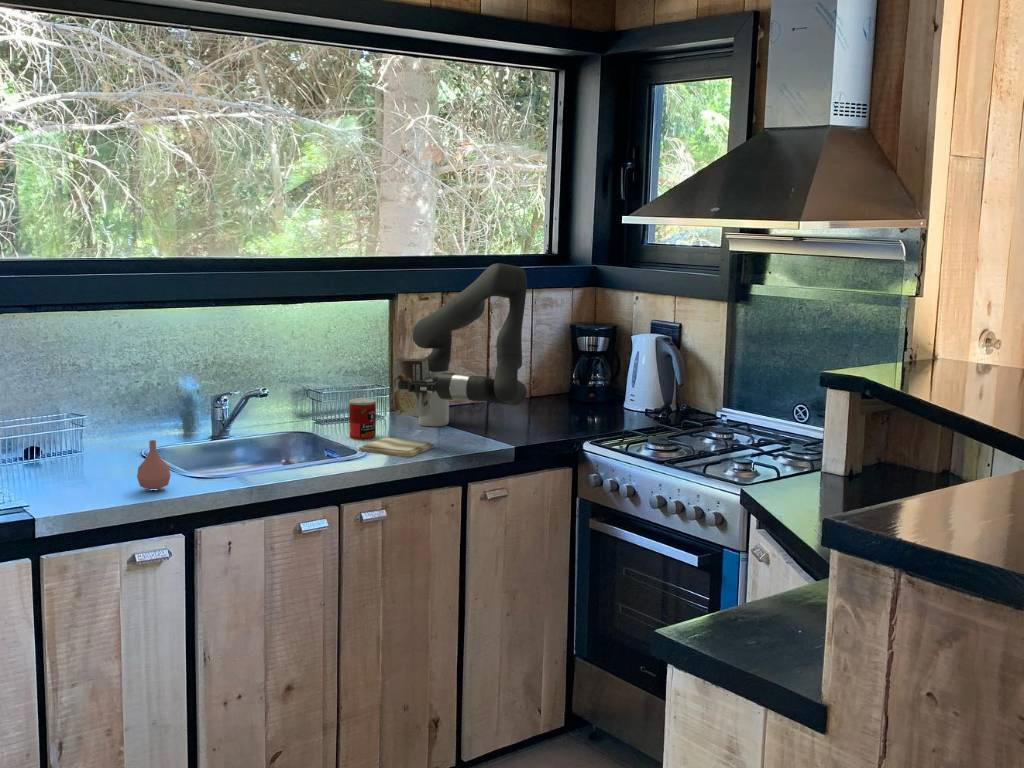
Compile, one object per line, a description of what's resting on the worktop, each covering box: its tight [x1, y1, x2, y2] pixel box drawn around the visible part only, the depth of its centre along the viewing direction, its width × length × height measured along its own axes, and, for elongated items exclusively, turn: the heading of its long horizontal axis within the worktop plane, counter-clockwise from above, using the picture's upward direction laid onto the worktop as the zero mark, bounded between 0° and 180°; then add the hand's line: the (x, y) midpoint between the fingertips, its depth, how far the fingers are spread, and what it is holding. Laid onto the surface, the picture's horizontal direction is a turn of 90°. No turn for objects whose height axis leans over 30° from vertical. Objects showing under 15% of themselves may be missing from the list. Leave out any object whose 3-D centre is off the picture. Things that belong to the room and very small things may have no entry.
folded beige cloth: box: [358, 436, 435, 458], centre depth 315 cm, size 14×16×2 cm
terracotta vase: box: [136, 439, 172, 490], centre depth 266 cm, size 8×8×12 cm
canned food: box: [348, 397, 377, 441], centre depth 329 cm, size 8×8×11 cm
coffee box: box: [392, 357, 431, 418], centre depth 319 cm, size 9×6×16 cm
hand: (405, 382), depth 320 cm, fingers closed on coffee box, 7 cm apart
